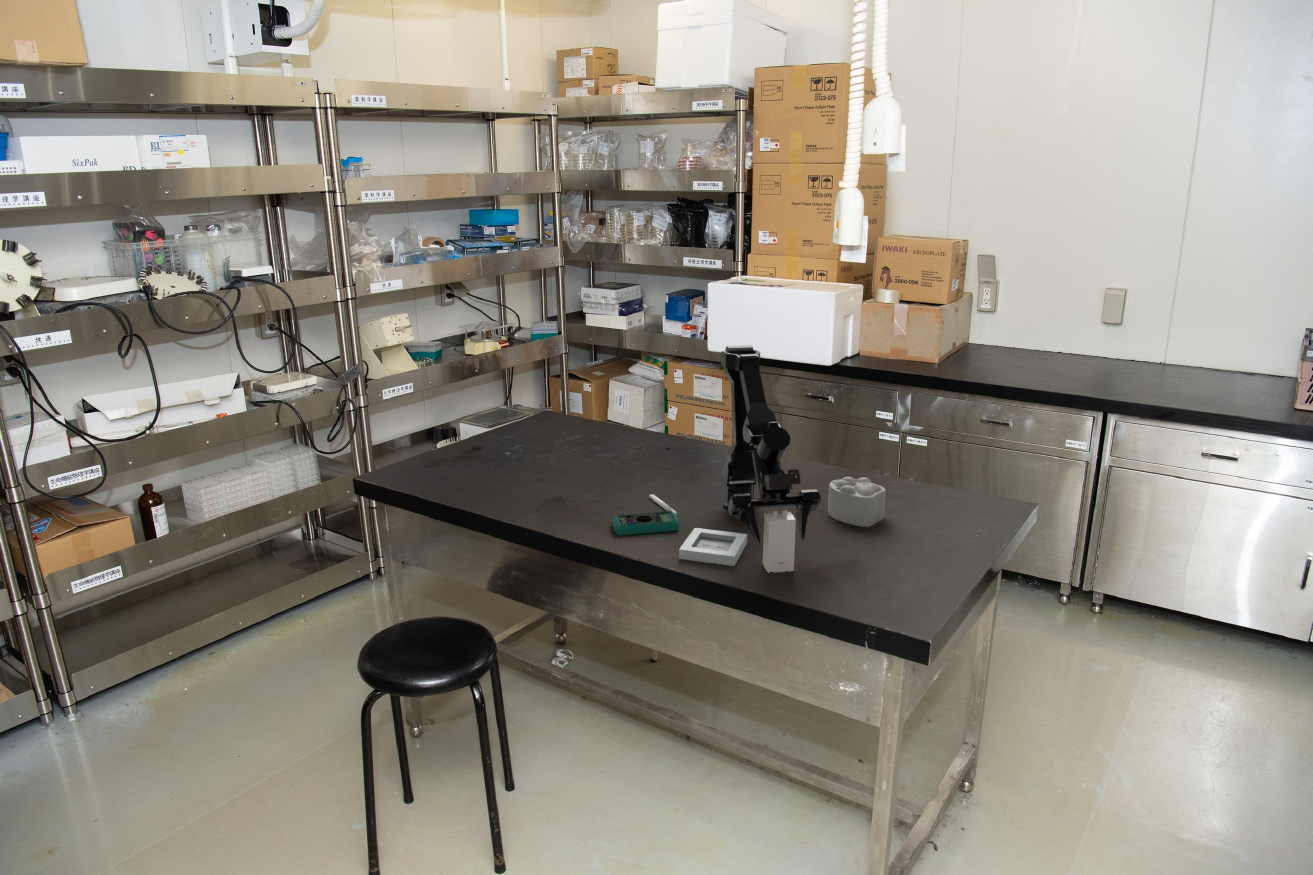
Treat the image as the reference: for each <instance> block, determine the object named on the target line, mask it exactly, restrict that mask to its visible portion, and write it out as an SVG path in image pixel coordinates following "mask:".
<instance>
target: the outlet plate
mask: <svg viewBox="0 0 1313 875" xmlns="http://www.w3.org/2000/svg"><path fill="white" fill-rule="evenodd" d="M747 544H748V533H741V532H734V531H733V532H731V531H725V530H716V529H709V528H708V529H706V528H700V527H695V528H693V529H692V531H691V532H690V534H689V535H688V536H687V538H686V539H685V541H684V542H683V544H682V545H681V546H680V548H679V549H678V551H679V552H678V554H679V555H678V558H679V560H685V561H693V562H699V563H700V562H701V563H708V564H714V563H715V565H721V564H722V565H723V566H730V567H735V566H736V565H737V563H738V560H739V558H740V557H741V555H742V553H743V551H744V549H745V548H746V547H747Z"/></svg>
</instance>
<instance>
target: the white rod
mask: <svg viewBox="0 0 1313 875" xmlns="http://www.w3.org/2000/svg"><path fill="white" fill-rule="evenodd" d="M649 498H650V500H652V501H653V502H655V503H656V504H658V505H659V506H660V507H661V508H663V509H664V511H672V512H674V514H675V515H676V516H677V515H678V512H677V511H676V510H675V509H673V508H672V507H671V506H669V505H668V504H667V503H665V501H663V500H661V499H660V498H659V497H658V496H656V495H655V494H653V493H652V494H649Z"/></svg>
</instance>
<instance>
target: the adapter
mask: <svg viewBox="0 0 1313 875" xmlns="http://www.w3.org/2000/svg"><path fill="white" fill-rule="evenodd" d="M763 515H764V516H763V541H762V542H763V543H762V545H763V546H762V566H763V568H764V569H765V571H766V572H768V574H769V573H770V572H773V573H785V572H786V571H787V572H794V570H795V550H796V547H795V546H796V525H797V524H796V523H797V518H796V517H795V516H794V515H793V513H792V512H791V511H788V510H787V509H785V510H784V509H783V510H782V511H781V512H779V511H778V510H773V511H772V512H769V513H768V512H767V513H763ZM770 574H771V573H770Z"/></svg>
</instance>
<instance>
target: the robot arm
mask: <svg viewBox="0 0 1313 875" xmlns="http://www.w3.org/2000/svg"><path fill="white" fill-rule="evenodd" d="M720 363H721V366H722V367H723V373H724V375H725V377H726V378H727V380H728V381H729V383H730V391H731V392H730V393H731V416H732V417H731V419H732V420H731V421H732V445H731V447H730V448H729V451H728V452H727V454H726V461H725V464H724V466H723V469H722V471H721V475H722V476H721V477H722V482H723V484H724V485H725V487H727V491H726V492H727V493H726V494H727V496H726V502H724V503H723V504H722V507H724V508H727V510H728V516H730V517H735V520H740V522H741V523H742V524H744V526H745V527H746V529H748V531H749V533H750V534H751V536H752V538H753V539H754V540H755V542H756V543H757V544H760V543H761V538H760V532H759V527H758V522H757V520H756V515H755V509H759V508H760V509H761V508H762V509H763V508H772V507H773V508H776V507H777V508H778V507H792V506H793V507H794V506H795V509H796V510H797V512H796V523H797V527H798V535H799V537H800V540H801V541H804V540H805V536H806V535H805V534H806V529H807V522H808V517H809V515H811V514H812V512H814V511H816V510H817V509H818V507H819V505H820V504H821V502H822V496H821V492H820V491H819V490H817V489H800V491H799V493H798V494H797V495H794V496H793V495H792V496H788V495H789V494H790V493H791V490H793V489H794V488H793V486H795V485H796V486H797V485H800V484H801V473H800V470H799V468H793V469H792V468H790V469H788V471H787V473H785V470H784V469H783V468H782V462H781V460H782V459H783V458H784V455H785V453H786V452H787V450H788V448H789V445H790V444H791V435H790V434H789V432H788V431H787V430H786V429H785V428H783V427H782V426H781V424H780V423H779V422H778V420H777V417H776V414H775V412H774V411H773V410H772V409H771V408H770V407H769V406H768V403H767V399H766V394H765V388H764V385H763V379H762V374H761V370H760V368H761V351H759V350H758V349H754V346H753V345H751V344H750V345H749V344H747V345H746V344H745V345H727V346H725V350H723V351H722V350H721V353H720ZM755 446H757V447H756V448H755ZM755 485H756V488H757V491H758V497H759V498H755Z"/></svg>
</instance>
